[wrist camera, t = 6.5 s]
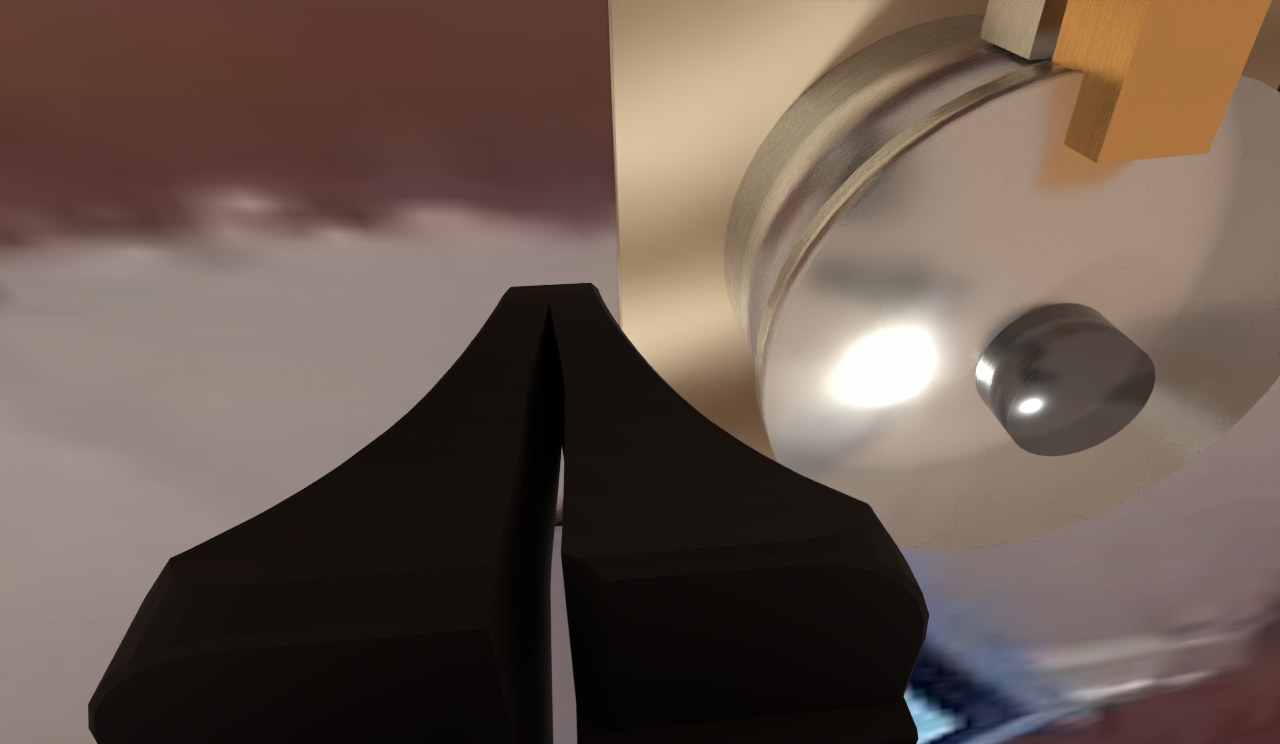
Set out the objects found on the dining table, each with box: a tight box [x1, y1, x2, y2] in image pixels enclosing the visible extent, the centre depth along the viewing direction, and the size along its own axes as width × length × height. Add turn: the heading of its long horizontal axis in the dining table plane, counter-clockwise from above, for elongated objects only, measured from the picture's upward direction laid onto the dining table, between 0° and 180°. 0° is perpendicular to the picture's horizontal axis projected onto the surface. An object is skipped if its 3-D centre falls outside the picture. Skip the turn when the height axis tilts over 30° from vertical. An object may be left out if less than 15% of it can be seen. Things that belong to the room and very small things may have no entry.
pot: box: [724, 0, 1068, 368], centre depth 18 cm, size 16×12×5 cm
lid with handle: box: [755, 0, 1280, 549], centre depth 15 cm, size 17×13×2 cm
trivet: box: [608, 0, 1280, 462], centre depth 22 cm, size 18×18×1 cm
